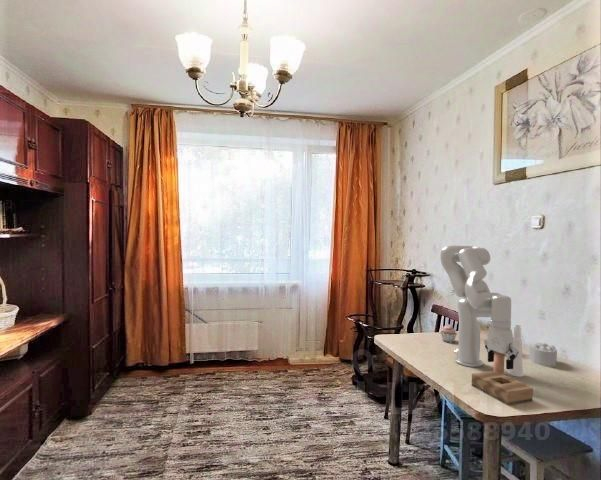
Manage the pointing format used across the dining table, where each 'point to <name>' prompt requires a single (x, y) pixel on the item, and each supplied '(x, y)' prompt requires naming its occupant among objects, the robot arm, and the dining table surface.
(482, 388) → the socket board
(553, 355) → the lumpy-topped squat cylinder
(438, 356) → the dining table surface
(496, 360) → the peg
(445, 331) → the cupcake
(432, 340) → the dining table surface
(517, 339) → the cosmetic bottle
